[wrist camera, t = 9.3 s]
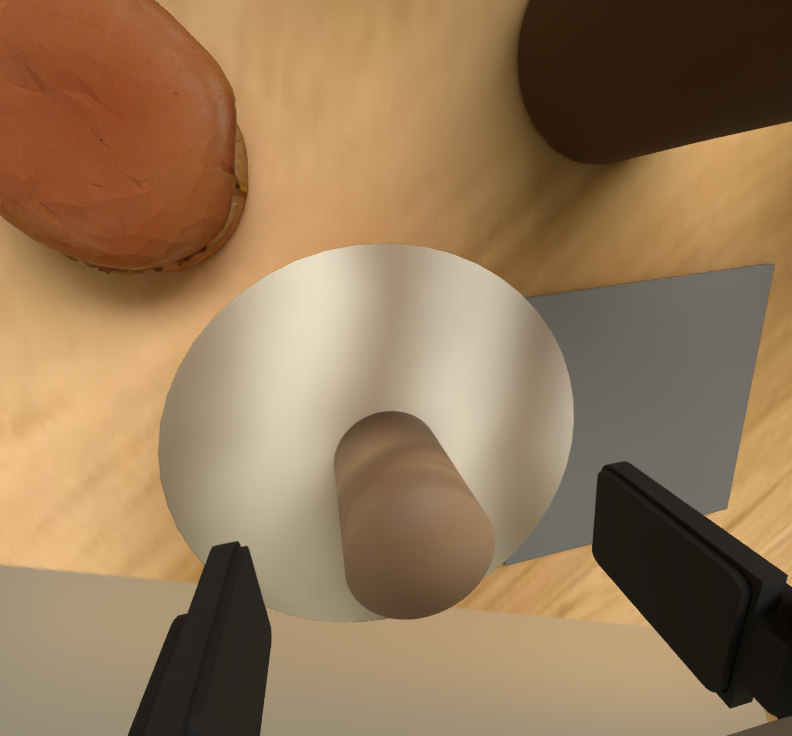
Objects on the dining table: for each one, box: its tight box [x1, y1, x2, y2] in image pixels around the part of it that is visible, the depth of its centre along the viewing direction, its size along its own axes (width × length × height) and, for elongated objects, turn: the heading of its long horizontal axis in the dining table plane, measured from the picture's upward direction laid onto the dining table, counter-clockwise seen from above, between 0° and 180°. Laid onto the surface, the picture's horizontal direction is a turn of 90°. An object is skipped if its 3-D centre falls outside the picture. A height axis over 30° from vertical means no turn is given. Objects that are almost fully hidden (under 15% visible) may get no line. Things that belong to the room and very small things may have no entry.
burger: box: [0, 0, 248, 275], centre depth 14 cm, size 10×9×5 cm
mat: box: [504, 264, 775, 566], centre depth 26 cm, size 18×18×1 cm
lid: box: [158, 243, 574, 622], centre depth 13 cm, size 16×16×6 cm
